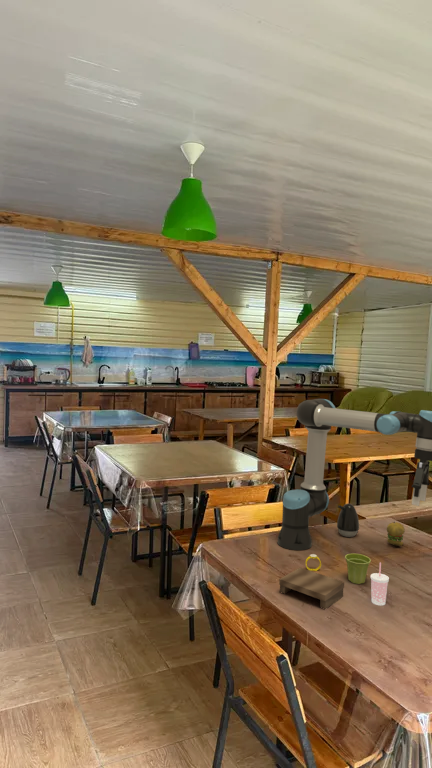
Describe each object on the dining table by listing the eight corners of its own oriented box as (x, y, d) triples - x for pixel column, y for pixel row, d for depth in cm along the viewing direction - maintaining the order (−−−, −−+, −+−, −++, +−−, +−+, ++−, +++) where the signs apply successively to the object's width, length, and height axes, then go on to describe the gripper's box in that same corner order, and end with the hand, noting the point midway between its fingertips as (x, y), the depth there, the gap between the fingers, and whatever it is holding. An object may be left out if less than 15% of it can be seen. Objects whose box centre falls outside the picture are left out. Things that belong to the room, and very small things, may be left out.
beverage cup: (385, 608, 173) (387, 567, 172) (367, 603, 176) (368, 563, 176) (389, 601, 178) (391, 561, 178) (371, 596, 182) (373, 557, 181)
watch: (306, 572, 201) (305, 557, 201) (305, 569, 204) (304, 554, 204) (321, 571, 201) (321, 556, 201) (320, 568, 204) (319, 553, 204)
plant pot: (370, 577, 197) (371, 555, 197) (369, 588, 188) (370, 564, 188) (345, 573, 200) (346, 551, 200) (342, 583, 191) (344, 560, 191)
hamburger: (405, 545, 232) (406, 519, 232) (401, 550, 226) (403, 523, 225) (388, 542, 236) (389, 516, 236) (383, 546, 230) (385, 520, 230)
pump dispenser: (333, 531, 248) (334, 500, 248) (354, 531, 249) (355, 500, 248) (340, 539, 238) (341, 506, 237) (361, 539, 239) (363, 506, 238)
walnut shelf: (278, 592, 182) (279, 579, 182) (299, 580, 193) (299, 567, 193) (324, 610, 171) (325, 595, 170) (343, 595, 181) (344, 581, 181)
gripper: (430, 452, 191) (423, 509, 191) (440, 449, 212) (433, 500, 212) (409, 449, 195) (402, 504, 195) (420, 446, 216) (414, 496, 216)
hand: (418, 502), depth 203 cm, fingers open, 13 cm apart
